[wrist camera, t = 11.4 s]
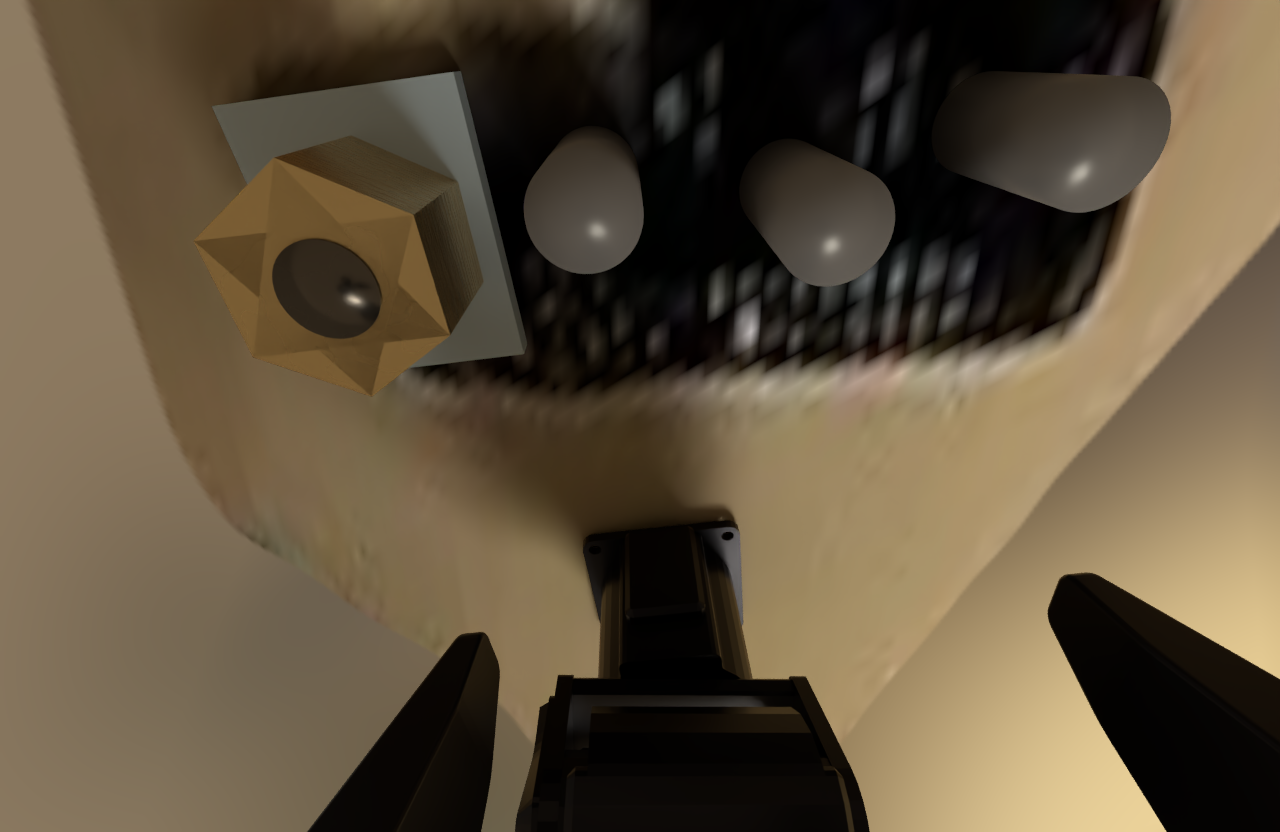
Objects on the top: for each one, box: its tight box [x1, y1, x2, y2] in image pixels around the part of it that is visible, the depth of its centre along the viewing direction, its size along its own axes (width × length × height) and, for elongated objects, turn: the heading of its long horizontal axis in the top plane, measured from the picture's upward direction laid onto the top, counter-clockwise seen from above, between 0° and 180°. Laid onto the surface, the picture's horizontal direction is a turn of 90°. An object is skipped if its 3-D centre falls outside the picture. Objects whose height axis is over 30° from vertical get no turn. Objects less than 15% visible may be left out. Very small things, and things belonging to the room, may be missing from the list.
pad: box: [212, 71, 527, 368], centre depth 17 cm, size 8×6×1 cm
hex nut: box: [194, 135, 484, 396], centre depth 15 cm, size 6×5×4 cm
